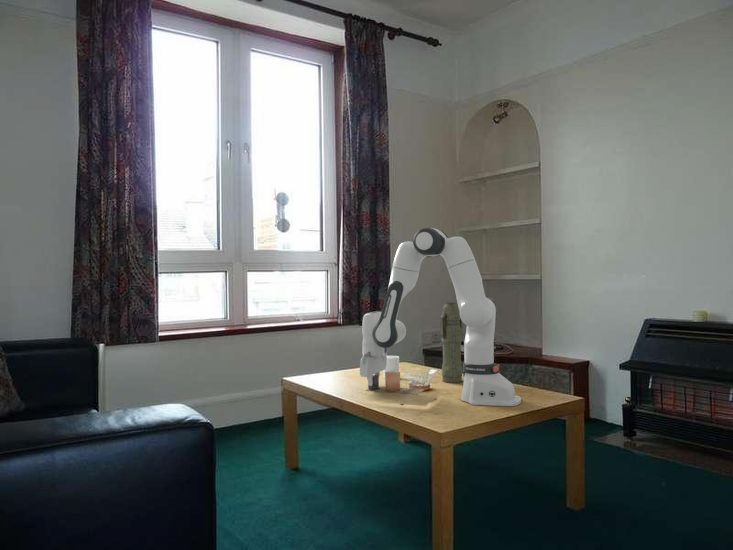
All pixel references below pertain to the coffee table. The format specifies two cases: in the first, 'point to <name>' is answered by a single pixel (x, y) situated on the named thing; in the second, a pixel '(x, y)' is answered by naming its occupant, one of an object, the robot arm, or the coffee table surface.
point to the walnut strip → (382, 389)
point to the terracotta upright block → (392, 381)
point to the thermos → (451, 343)
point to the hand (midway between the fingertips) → (373, 384)
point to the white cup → (392, 364)
